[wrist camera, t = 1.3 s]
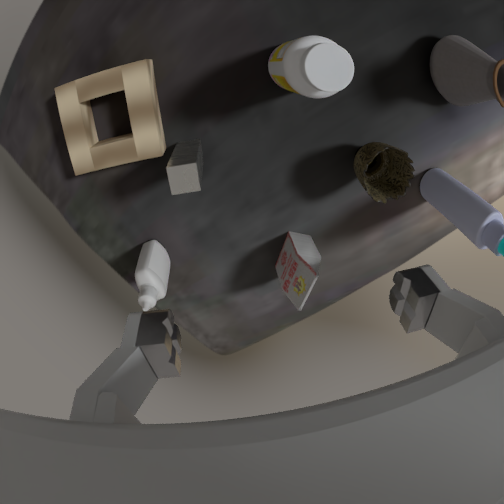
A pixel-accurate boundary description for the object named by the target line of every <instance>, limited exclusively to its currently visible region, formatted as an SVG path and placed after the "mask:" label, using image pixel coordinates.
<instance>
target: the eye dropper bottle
mask: <svg viewBox="0 0 504 504" xmlns="http://www.w3.org/2000/svg"><path fill="white" fill-rule="evenodd" d="M169 271H170V258H169V255H168V253H167V251H166V250H165V248H164V247H163V246H162V245H161V244H160V243H159V242H157V241H156V240H151V241H148V242H146V243H144V244H143V246H142V249H141V252H140V256H139V259H138V263H137V266H136V270H135V280H136V283H137V286H138V288H139V290H140V293H139V297H138V302H139V304H140V305H141V306H142V307H143V311H148V310H149V308H152V307H154V306H155V305H156V301H157V300H159V299H162V298H164V297H165V295H166V291H167V285H168V278H169Z"/></svg>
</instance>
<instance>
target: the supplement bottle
mask: <svg viewBox="0 0 504 504" xmlns="http://www.w3.org/2000/svg"><path fill="white" fill-rule="evenodd" d="M268 70H269V73H270V76H271V78H272V79H273V81H274V82H275V83H276V84H277V85H279V86H280V87H282V88H284V89H286V90H289V91H292V92H295V93H298V94H301V95H304V96H307V97H310V98H325V97H329V96H331V95H333V94H335V93H337V92H338V91H340V90H342V89H344V88H345V87H347V86H348V85H349V83H350V82H351V80H352V78H353V75H354V64H353V60H352V58H351V56H350V55H349V53H348V52H347V51H346V50H345V49H344V48H342V47H341V46H339V45H337V44H336V43H335V42H333V41H332V40H330V39H328V38H325V37H321V36H306V37H302V38H299V39H295V40H292V41H289V42H286V43H283V44H281V45H279V46H278V47H277V48H276V49H274V51H273V52H272V53H271V55H270V57H269V61H268Z"/></svg>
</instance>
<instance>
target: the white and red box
mask: <svg viewBox="0 0 504 504" xmlns="http://www.w3.org/2000/svg"><path fill="white" fill-rule="evenodd" d="M320 262H321V256H320V254H319V252H318V250H317V248H316V246H315V244H314V242H313V240H312V238H311V236H310V235H305V234H300V233H295V232H290V231H288V234H287V237H286V239H285V242H284V244H283V247H282V250H281V252H280V255H279V257H278V260H277V263H276V265H275V268H276V271H277V275H278V278H279V282H280V285H281V289H282V291H283V292H284V293H285V295H286V296H287V297H288V298H289V299H290V300H291V301H292V303H293V304H294V305H295V307H296V308H297V310H298V311H299V309H300V311H301V309H302V307H303V305H304V303H305V301H306V300H307V298H308V296H309V294H310V292H311V290H312V288H313V286H314V284H315V282H316V280H317V278H318V276H319V265H320Z"/></svg>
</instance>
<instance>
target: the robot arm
mask: <svg viewBox="0 0 504 504" xmlns="http://www.w3.org/2000/svg"><path fill="white" fill-rule="evenodd" d="M393 282H394V283H395V285H394V286H393V287H392V289H391V290H390V295H389V299H390V305H391V308H392V310H393V312H394V313H395V314H397V315H399V316H400V323H401V325H402V326H403V328H404V330H405V331H406V333H410V332H413V331H417V330H421V329H425V330H426V331H427V332H429V333H430V334H432V335H433V336H435V337H436V338H437V339H439V340H440V341H442V342H443V343H444V344H446V345H447V346H449V347H450V348H452V349H453V350H454V351H456V352H457V353H458V355H457V357H456V358H455V360H454V361H452V362H449V363H447V364H444V365H442V366H439V367H437V368H434V369H432V370H429V371H427V372H425V373H422V374H419V375H416V376H414V377H411V378H408V379H406V380H402V381H400V382H396V383H394V384H390V385H387V386H385V387H381V388H378V389H375V390H371V391H368V392H365V393H361V394H358V395H354V396H350V397H347V398H343V399H339V400H335V401H331V402H327V403H323V404H318V405H314V406H309V407H304V408H299V409H295V410H290V411H284V412H278V413H273V414H266V415H259V416H253V417H245V418H237V419H228V420H220V421H208V422H194V423H175V424H141V423H140V422H139V420H138V419H137V418H136V417H135V416H134V415H135V414H136V412H137V411H138V409H139V408H140V406H141V405H142V403H143V401H144V400H145V399H146V397H147V396H148V394H149V393H150V391H151V389H152V388H153V386H154V385H155V383H156V382H157V380H158V378H169V377H178V376H180V375H181V374H180V373H181V360H180V357H179V354H180V352H181V351H182V343H181V335H180V331H179V328H178V326H177V325H176V324H174V315H173V312H172V310H170V309H165V310H154V311H144V312H134V313H130V314H129V315H128V318H127V321H126V326H125V330H124V334H123V338H122V342H121V347H120V348H116V349H115V350H114V351H113V352H112V353H111V354H110V356H108V358H107V359H106V360H105V361H104V362H103V363H102V364H101V365H100V366H99V367H98V368H97V369H96V370H95V371H94V372H93V373H92V375H90V376H89V377H88V378H87V380H86V381H85V382H84V383H83V384H82V385H81V386H80V387H79V388H78V389H77V390H76V394H75V398H74V402H73V407H72V411H71V415H70V420H63V419H55V418H48V417H41V416H35V415H29V414H23V413H18V412H13V411H8V410H4V409H0V504H504V316H503V315H502V314H501V312H500V311H499V310H497V309H495V308H493V307H491V306H489V305H487V304H485V303H483V302H481V301H479V300H477V299H475V298H472V297H471V296H469V295H466V294H464V293H462V292H460V291H458V290H456V289H451V288H450V287H449V286H448V285H447V284H446V283H445V281H444V280H443V279H442V278H441V277H440V276H439V274H438V273H437V272H436V271H435V270H434V269H433V268H432V266H430V265H424V266H419V267H417V268H411V269H407V270H403V271H398V272H396V273H395V275H394V277H393Z"/></svg>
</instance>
